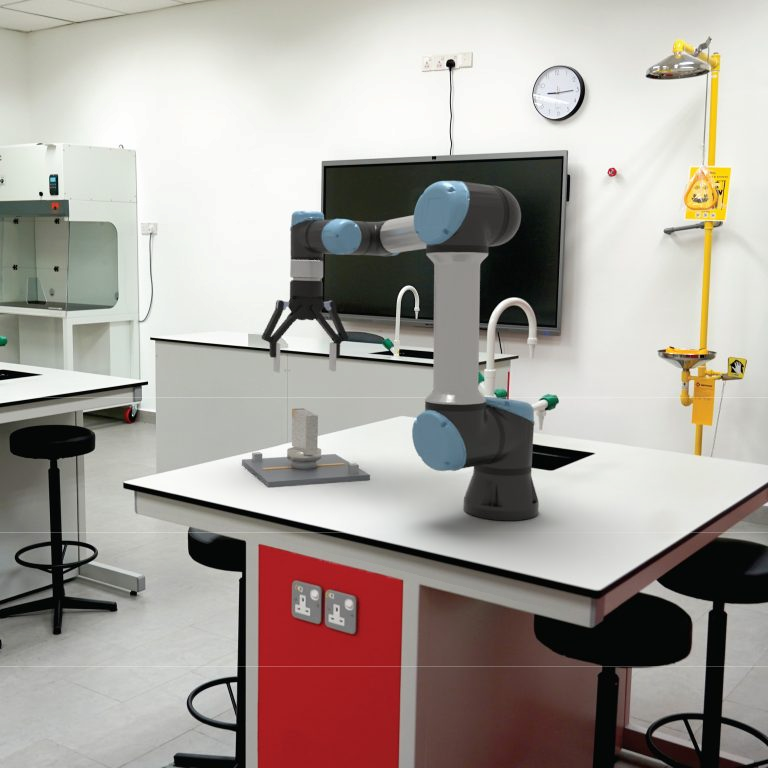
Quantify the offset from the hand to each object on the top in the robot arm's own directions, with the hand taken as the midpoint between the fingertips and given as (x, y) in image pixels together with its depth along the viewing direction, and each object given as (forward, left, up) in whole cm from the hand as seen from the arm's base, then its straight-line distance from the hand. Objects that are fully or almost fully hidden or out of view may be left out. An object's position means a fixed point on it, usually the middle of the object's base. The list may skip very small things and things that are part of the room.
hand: (304, 371), depth 211 cm
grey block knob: (0, 0, -21) cm, 21 cm away
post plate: (0, 0, -24) cm, 24 cm away
